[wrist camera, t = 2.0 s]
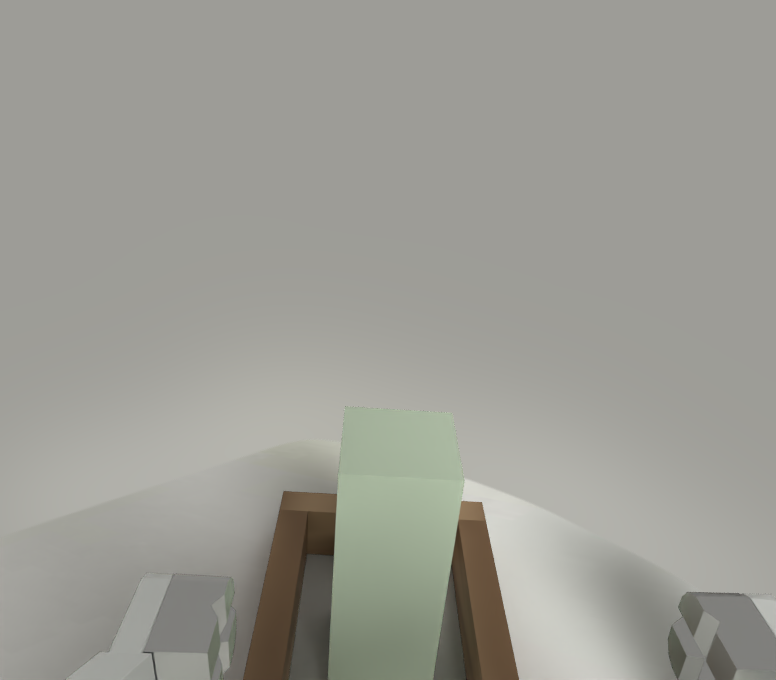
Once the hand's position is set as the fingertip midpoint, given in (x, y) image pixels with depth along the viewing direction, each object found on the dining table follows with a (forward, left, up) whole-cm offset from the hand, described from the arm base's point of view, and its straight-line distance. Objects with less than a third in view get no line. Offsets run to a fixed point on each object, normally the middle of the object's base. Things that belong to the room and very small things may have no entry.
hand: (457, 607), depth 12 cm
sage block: (0, +12, -17) cm, 21 cm away
